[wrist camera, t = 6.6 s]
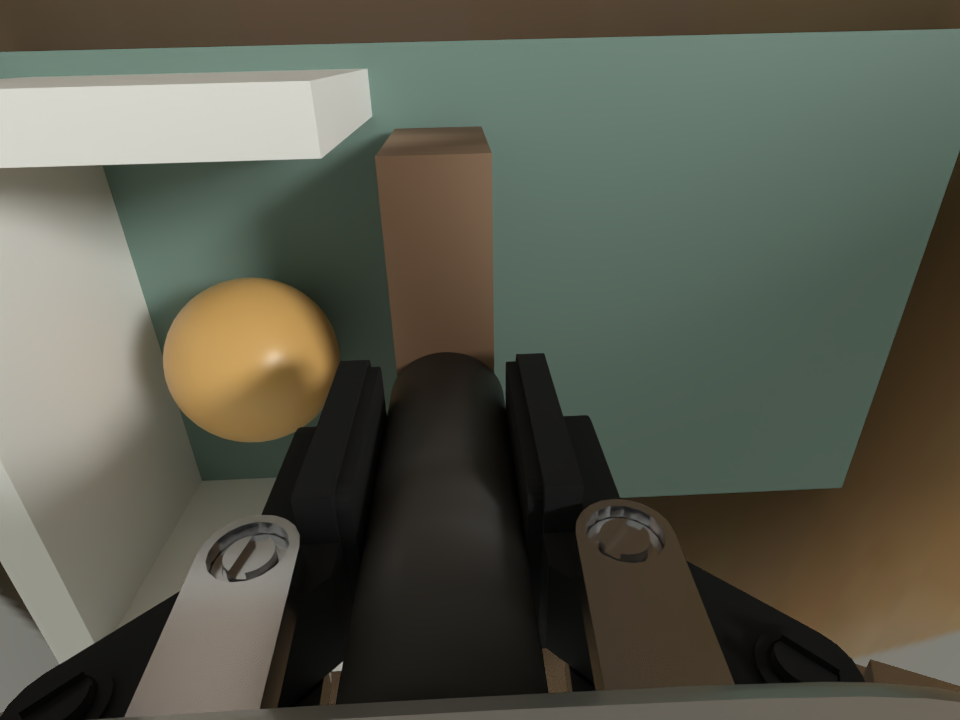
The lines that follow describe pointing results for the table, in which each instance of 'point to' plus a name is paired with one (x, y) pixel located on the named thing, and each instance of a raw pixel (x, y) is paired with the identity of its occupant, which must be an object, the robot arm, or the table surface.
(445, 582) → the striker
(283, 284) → the ball
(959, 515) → the table surface
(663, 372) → the game board
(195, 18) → the table surface
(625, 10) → the table surface
